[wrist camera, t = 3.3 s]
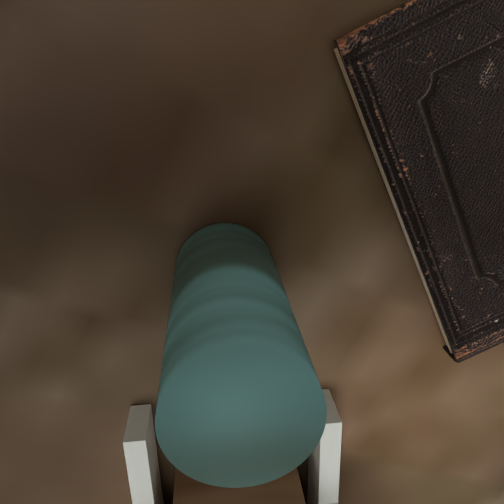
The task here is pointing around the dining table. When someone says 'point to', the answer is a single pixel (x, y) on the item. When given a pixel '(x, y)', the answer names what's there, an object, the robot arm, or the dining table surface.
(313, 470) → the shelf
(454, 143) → the hardcover book
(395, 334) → the dining table surface
